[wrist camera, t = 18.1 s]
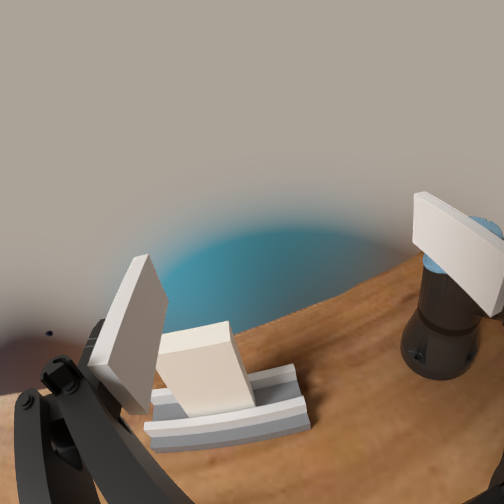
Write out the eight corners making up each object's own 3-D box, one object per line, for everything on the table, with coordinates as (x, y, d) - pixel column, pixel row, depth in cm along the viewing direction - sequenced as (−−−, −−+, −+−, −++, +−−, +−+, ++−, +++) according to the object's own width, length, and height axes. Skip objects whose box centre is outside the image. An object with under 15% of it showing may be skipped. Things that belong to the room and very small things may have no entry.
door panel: (253, 390, 43) (227, 316, 35) (257, 411, 39) (230, 340, 31) (192, 400, 43) (152, 332, 35) (193, 422, 39) (147, 356, 31)
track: (293, 370, 47) (290, 354, 45) (310, 429, 36) (309, 415, 34) (160, 395, 46) (149, 381, 44) (155, 452, 36) (142, 440, 34)
